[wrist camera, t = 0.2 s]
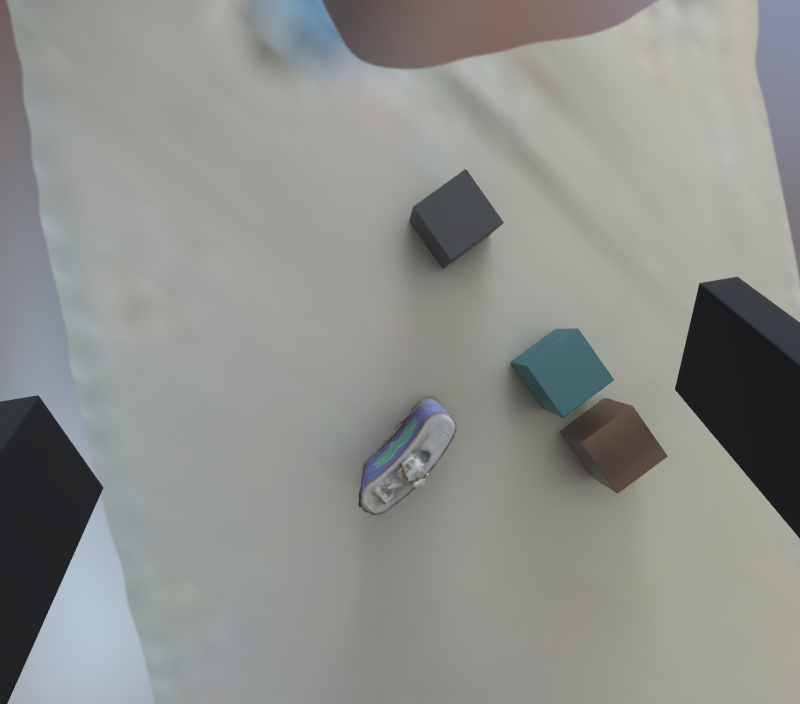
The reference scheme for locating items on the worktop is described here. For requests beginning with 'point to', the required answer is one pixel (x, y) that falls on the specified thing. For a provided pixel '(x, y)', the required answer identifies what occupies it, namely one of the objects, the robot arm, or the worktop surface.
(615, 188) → the worktop surface
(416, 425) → the flask
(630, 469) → the block
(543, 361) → the block
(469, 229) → the block
